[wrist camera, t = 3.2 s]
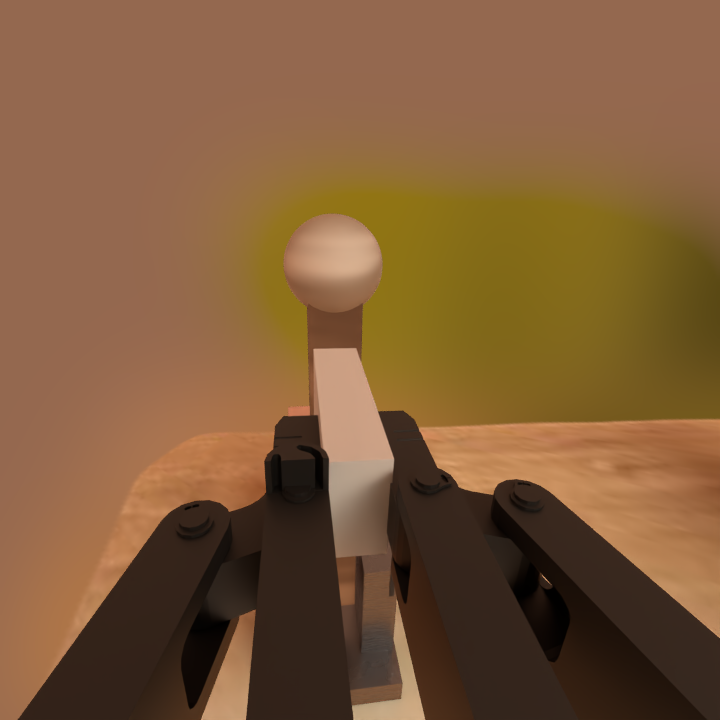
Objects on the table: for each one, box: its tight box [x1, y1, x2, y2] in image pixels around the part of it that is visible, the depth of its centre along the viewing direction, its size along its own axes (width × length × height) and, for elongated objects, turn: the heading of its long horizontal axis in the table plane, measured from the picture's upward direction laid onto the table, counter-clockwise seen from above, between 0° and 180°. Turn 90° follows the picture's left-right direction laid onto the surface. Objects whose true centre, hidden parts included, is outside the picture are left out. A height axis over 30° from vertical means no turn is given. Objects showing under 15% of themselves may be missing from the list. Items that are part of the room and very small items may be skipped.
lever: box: [284, 214, 382, 606], centre depth 23 cm, size 4×4×23 cm
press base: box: [341, 539, 402, 705], centre depth 32 cm, size 18×9×8 cm, turn 8°
